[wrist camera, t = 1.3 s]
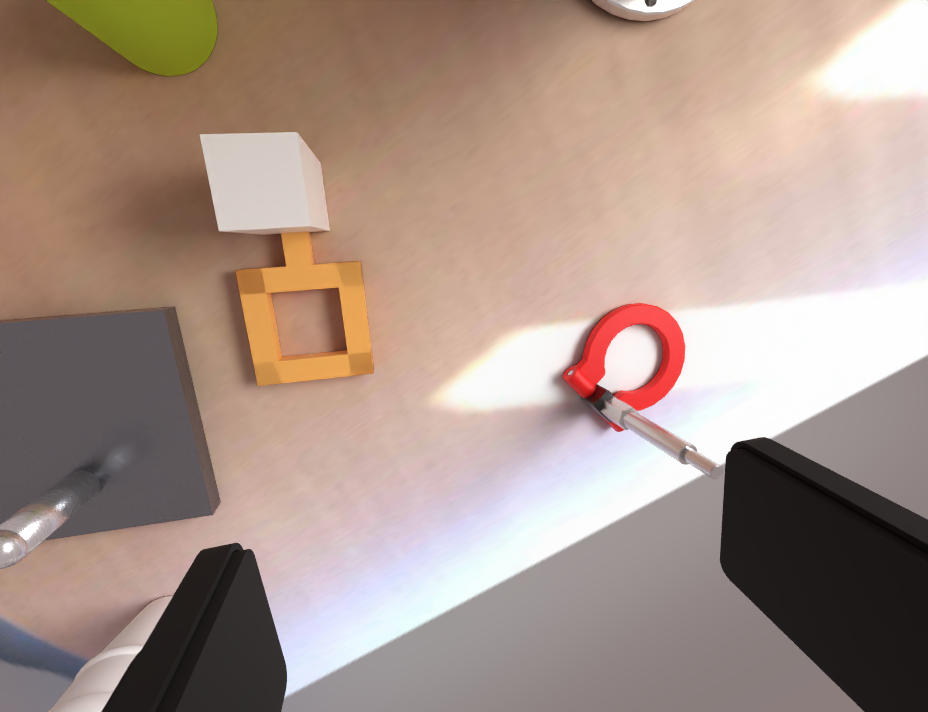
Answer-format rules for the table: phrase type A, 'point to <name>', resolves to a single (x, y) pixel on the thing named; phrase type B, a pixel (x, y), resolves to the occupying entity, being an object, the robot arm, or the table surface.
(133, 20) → the soap dispenser
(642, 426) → the tow hook
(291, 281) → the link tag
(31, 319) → the plate
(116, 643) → the soft serve ice cream cone
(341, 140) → the table surface
